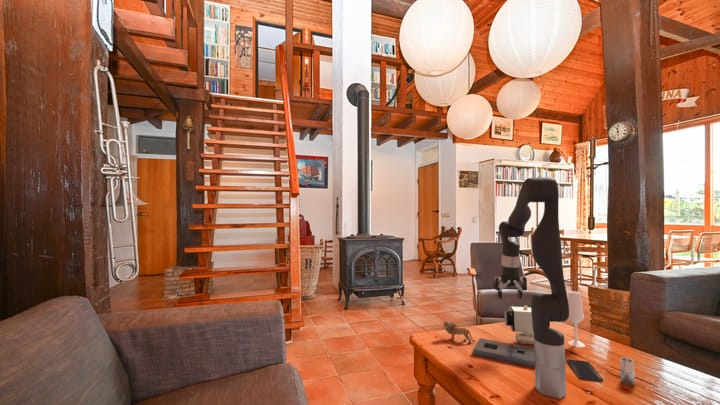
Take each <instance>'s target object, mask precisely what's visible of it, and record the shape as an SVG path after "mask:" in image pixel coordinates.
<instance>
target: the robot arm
mask: <svg viewBox="0 0 720 405" xmlns="http://www.w3.org/2000/svg"><path fill="white" fill-rule="evenodd" d="M559 200H560V199H559V185H558V182H557V180H556V178H554V177H550V176H546V177H545V176H544V177H543V176H541V177H529V178H526V179H525V180H524V181H523V183H522V184H521V187H520V189H519V193H518V196H517V199H516V204H515V205H514V208H513V210H512V212H511V213H510V215H509V217H508V220H507V221H501V222H500V223H499V225H498V231H499V232H498V233H499V236H500V239H501V244H502V256H501V269H500V271H501V276H496V275H494V277H493V289H494V290H495V291H497V295H496V296H497V298H498V299H499V300H503V290H504V289H505V288H506V287H516V288H517V293H516V294H517V296H516V297H517V299H519V300H521V299H522V298H523V291H526V290H528V279H527V277H526V276H524V275H522V276H520V270H521V269H520V268H521V267H520V266H521V265H520V263H521V260H520V249H521V248H520V243H519V242H517V241H512V240H510V239H509V238H519V237H522V236H523V235H524V234H525V230H526V225H527V223H528V222H529V220H530V219H531V217H532V209H531V208H530V206H529V204H530V203H543V205H544V207H543V214H542V217H541V219H540V221H539V223H538V225H537V226H536V228H535V230H534V231H533V233H532V235H531V240H530V241H531V243H530V244H531V253H532V258H533V259H534V262H535V264H537V265H538V267H539V269H540V270H541V271H542V273H543V274H544V275H545V276H546V279H547V280H548V283H549V285H550V290H551V291H550V292H551V293H536V294H533V295H532V296H531V298H530V308H531V313H532V326H533V332H534V333H533V334H534V345H533V348H534V357H535V368H534V380H535V381H534V382H535V383H534V384H535V389H536V390H537V391H538V392H539V395H543V396H545V397H546V396H547V397H551V398H555V399H559V400H561V399H562V398H564V397H566V396H567V381H566V380H567V379H566V353H565V347H566V346H565V335H564V334H563V332H561V331H558V330H557V329H554V328H551V327H548V325H547V322H550V323H552V322H553V323H556V322H557V323H563V322H566V321H568V319H569V318H568V317H569V304H568V293H567V288H566V284H565V277H564V267H563V253H562V252H563V250H562V241H561V232H560V223H559V222H560V221H559V220H560V219H559V203H560V202H559ZM520 281H521V285H520V284H519V282H520ZM499 282H500V283H499Z"/></svg>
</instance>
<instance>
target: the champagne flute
mask: <svg viewBox="0 0 720 405" xmlns="http://www.w3.org/2000/svg"><path fill="white" fill-rule="evenodd" d="M567 298H568V304H569V317H568V319H569V320H570V321H571V322H572V323H573V324H574V326H573V327H574V329H573V330H574V339H572V340H570V341H568V342H567V343H568V345H570V346H573V347H577V348H585V347H586V345H585V344H584V343H583V342H581V341H580V340H579V337H578V324H580V323H581V322H583V320H584V319H585V316H584V315H585V314H584V308H583V307H584V306H583V301H582V293H581V292H579V291H574V290H569V291H568V293H567Z"/></svg>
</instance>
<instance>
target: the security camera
mask: <svg viewBox="0 0 720 405" xmlns="http://www.w3.org/2000/svg"><path fill="white" fill-rule="evenodd" d="M503 314H504V315H503V316H504V322H505V326H506V327H509V328H510V329H511V331H512V332H517V333H515V342H516V343H519V344H520V345H531V346H532V345H533V346H534V332H533V326H532V313H531V307H529V306H528V305H524V306H508V310H505V311H504V313H503ZM550 323H551V322H547V325H548V327H549V328H551V327H550V326H551V325H550Z"/></svg>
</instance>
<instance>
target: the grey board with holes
mask: <svg viewBox="0 0 720 405" xmlns="http://www.w3.org/2000/svg"><path fill="white" fill-rule="evenodd" d="M472 350H473V351H472V352H473V356H476V357H477V356H478V357H482V358H485V359H491V360H494V361H498V362H504V363H508V364H513V365H519V366H522V367H528V368H533V369H535V357H534V347H529V346H525V345H521V344H520V345H519V344H514V343H508V342H502V341H498V340H492V339H486V338H479V339H478V341H477V342H476V344H475V346H474V348H473V349H472Z"/></svg>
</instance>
